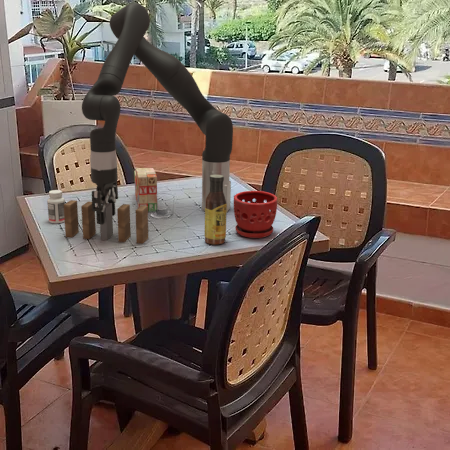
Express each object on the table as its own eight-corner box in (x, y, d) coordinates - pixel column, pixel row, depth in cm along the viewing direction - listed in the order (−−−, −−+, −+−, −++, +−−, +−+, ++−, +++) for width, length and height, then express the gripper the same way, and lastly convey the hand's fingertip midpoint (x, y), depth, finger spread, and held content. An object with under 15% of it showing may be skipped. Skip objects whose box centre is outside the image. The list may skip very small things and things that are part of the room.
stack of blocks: (134, 195, 239) (133, 162, 235) (151, 194, 240) (151, 161, 236) (139, 212, 219) (138, 176, 215) (157, 211, 220) (157, 176, 216)
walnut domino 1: (78, 232, 198) (77, 200, 195) (72, 237, 193) (70, 205, 190) (72, 231, 198) (70, 200, 195) (65, 237, 194) (63, 204, 191)
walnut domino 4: (148, 238, 194) (147, 205, 191) (143, 243, 189) (142, 210, 186) (141, 237, 194) (141, 205, 191) (136, 243, 190) (135, 210, 186)
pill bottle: (65, 218, 211) (63, 188, 208) (67, 222, 206) (65, 193, 203) (47, 219, 209) (45, 190, 206) (49, 224, 205) (47, 194, 202)
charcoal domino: (100, 240, 192) (99, 207, 189) (107, 234, 196) (105, 202, 193) (107, 240, 191) (105, 207, 188) (113, 235, 196) (111, 203, 193)
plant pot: (224, 232, 200) (224, 194, 196) (257, 224, 208) (258, 188, 204) (251, 244, 190) (252, 204, 186) (284, 235, 198) (286, 197, 194)
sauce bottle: (218, 247, 187) (219, 179, 181) (200, 243, 190) (200, 176, 184) (230, 240, 193) (231, 175, 186) (212, 236, 196) (213, 172, 190)
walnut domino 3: (130, 236, 195) (129, 204, 192) (124, 242, 190) (123, 209, 187) (124, 236, 195) (123, 204, 192) (118, 241, 191) (117, 208, 187)
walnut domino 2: (96, 233, 197) (94, 201, 194) (89, 239, 192) (87, 206, 189) (89, 233, 197) (88, 201, 194) (83, 238, 193) (81, 206, 190)
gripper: (100, 159, 194) (103, 211, 199) (81, 170, 181) (84, 226, 186) (124, 161, 193) (126, 213, 198) (107, 172, 180) (109, 228, 185)
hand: (106, 219), depth 192 cm, fingers open, 8 cm apart
